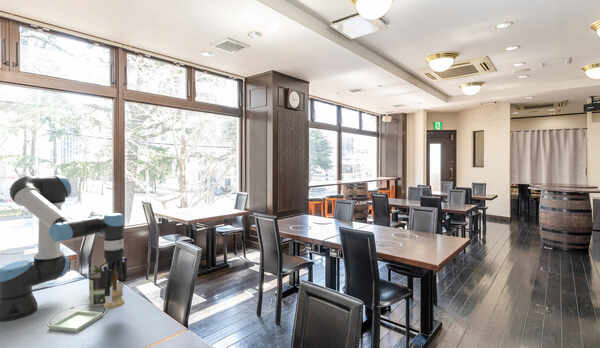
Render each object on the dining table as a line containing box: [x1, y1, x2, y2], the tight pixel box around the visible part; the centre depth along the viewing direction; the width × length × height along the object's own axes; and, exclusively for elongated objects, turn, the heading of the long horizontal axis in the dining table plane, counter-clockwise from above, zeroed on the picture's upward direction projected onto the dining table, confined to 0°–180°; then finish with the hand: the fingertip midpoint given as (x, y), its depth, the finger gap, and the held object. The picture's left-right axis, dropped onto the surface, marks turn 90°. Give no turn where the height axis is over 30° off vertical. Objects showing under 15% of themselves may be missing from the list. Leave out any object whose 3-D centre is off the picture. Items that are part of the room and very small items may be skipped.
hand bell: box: [103, 269, 126, 310], centre depth 136 cm, size 8×8×16 cm
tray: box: [48, 309, 104, 334], centre depth 134 cm, size 14×14×2 cm
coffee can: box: [88, 272, 113, 307], centre depth 155 cm, size 10×10×14 cm
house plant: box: [84, 260, 106, 280], centre depth 168 cm, size 14×14×16 cm
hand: (114, 299), depth 137 cm, fingers closed on hand bell, 6 cm apart
